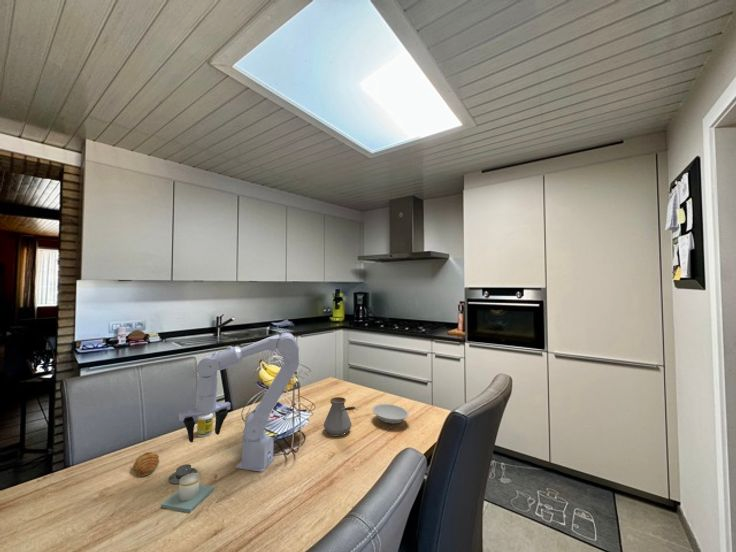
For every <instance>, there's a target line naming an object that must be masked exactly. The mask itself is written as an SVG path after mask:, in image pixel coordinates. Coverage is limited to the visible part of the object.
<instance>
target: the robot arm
mask: <svg viewBox="0 0 736 552" xmlns="http://www.w3.org/2000/svg"><path fill="white" fill-rule="evenodd" d="M299 349H300V348H299V345H298V342H297V340H296V337H295V336H294V335H293V334H292V333H291V332H282V333H281V334H280V333H278V334H274V335H271V336H269V337H266V338H264V339H261V340H259V341H256V342H254V343H251V344H248V345H246V346H244V347H239V346H233V347H232V346H231V345H230V346H227V347H226V349H224V350H222V351H219V352H213V353H211V354H208V355H206V356H204V357H203V358H201V360H199V362H198V363H197V365H196V368H195V369H196V373H197V380H196V381H197V383H196V400H195V402H196V403H195V407H193V408H191V409H188V410H185V411H182V412H179V414H178V419H179V422H183V424H184V425H185V426H184V427H185V429H186V431H187V436H188V442H189V443H193V442H194V430H195V425H196V421H195V419H194V418H198V416H201V415H205V414H209V413H212V414H213V413H214V414H215V425H214V426H215V427H214V433H215V434H216V435H217V436H218V435H220V433H221V429H222V426H223V424H224V421H225V419H226V418H227V416H228V414H229V410H231V402H229V401H226V402H220V403H218V402H217V395H218V394H217V393H218V392H217V391H218V371H222V370H225V369H227V368H230V367H234V366H237V365H239V364H240V363H242V362H243V359H244V358H246V357H249V356H253V355H255V354H258V353H261V352H265V351H271V352H275V353H277V350H278V352H279V354H280V355H281V356H282V359H283V364H282V365H281V367H280V368H279V370H278V372H277V374H276V375H275V377H274V379H273V380H272V382H271V383H270V385H269V387H268V389H267V390H266V392H265V393H264V395H263V397H262V399H261V400H260V401H259V403H258V404H257V405H256V406H255V408H254V409H253V410H252V411H251V412H249V413H248V414H247V416H246V417H245V425H244V427H243V432H242V433H243V435H242V448H241V449H242V453H241V461H240V462H239V463H238V464H237V465H236V466H235V467H236V469H241V470H247V471H248V470H249V471H255V472H256V471H257V472H264V471H265V469H267V467H268V466H269V465H270V464H271V463H272V461H274V459H275V456H274V443H275V442H274V438H273V436H270V435H267V432H266V430H265V428H266V427H265V426H266V425H267V423H268V420H269V418H270V415H271V412H272V411H273V410H274V407H275V406H276V404H277V403H278V401H279V400H280V398H281V396H282V395H283V392H284V391H285V390H286V388H287V386H288V384H289V383H290V381H291V379H292V378H293V376H294V374H295V372H296V371H297V369H298V367H299V366H300V365H299V364H300V356H299V355H300V354H299V353H300V350H299Z"/></svg>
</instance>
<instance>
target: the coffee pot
mask: <svg viewBox="0 0 736 552" xmlns="http://www.w3.org/2000/svg"><path fill="white" fill-rule="evenodd" d="M346 401H347V399H346V397H345V398H344V397H341V396H340V397H339V396H337V397H331V399H329V402H330V404H331V406H330V408H329V411H328V412H327V415H326V417H325V420H324V422H323V428H324V430H325V431H326V432H327V434H329V435H330V434H331V435H330V436H333V435H341V436H343V435H342V434H344V433H346V432H347V433H348V432H349V430H351V427H352V426H353V425H352V421H351V419H350V416H349V414H348V411H352V413H353V414H355V412H354V410H355V409H356V410H358V408H357V407H356V406H348V407H346V406H345V403H346ZM347 433H346V434H347ZM344 435H345V434H344Z"/></svg>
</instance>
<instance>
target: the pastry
mask: <svg viewBox="0 0 736 552" xmlns="http://www.w3.org/2000/svg"><path fill="white" fill-rule="evenodd" d="M159 463H160V459H159V454H157V453H155V452H154V451H147V452H144V453H143V454H140V455H138V457H137V458H136V459H135V461H134V463H133V466H132V469H133V471H134V473H135V474H136V475H137V476H138V477H140V478H141V477H145V476H148V475H150V474H153V473H154V472H155V470H156V469H157V468H158V467H159Z"/></svg>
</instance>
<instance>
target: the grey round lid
mask: <svg viewBox="0 0 736 552" xmlns="http://www.w3.org/2000/svg"><path fill="white" fill-rule="evenodd" d="M190 473H198V474H199V472H198V469H196V468H195V467H192V465H191V464H189V463H188V464H186V463H185V464H182V465H179V466H178V467H177V468H176V470H175V471H174V472H173V473H171V474H170V475H169V477H168V482H169V484H171V485H179V480H180V479H181V478H182V477H183V476H185V475H187V474H190Z"/></svg>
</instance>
